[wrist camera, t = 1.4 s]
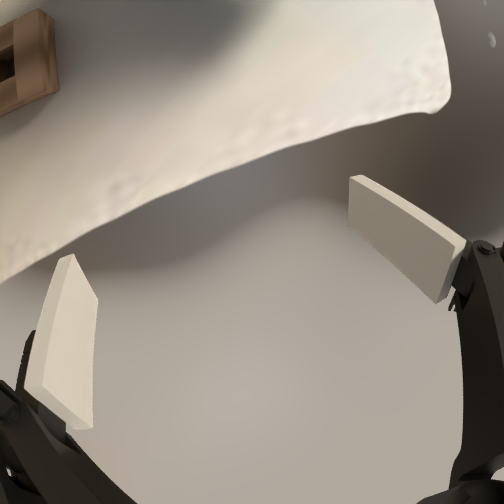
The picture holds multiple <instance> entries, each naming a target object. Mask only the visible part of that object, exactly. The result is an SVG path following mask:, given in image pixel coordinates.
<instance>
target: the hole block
mask: <svg viewBox="0 0 504 504" xmlns="http://www.w3.org/2000/svg"><path fill="white" fill-rule="evenodd" d="M12 59H14V66H15V76H13V77H11V78H9V72H8V62H9V61H10V60H12ZM58 91H59V84H58V75H57V66H56V54H55V37H54V19H52V18H51V17H50V16H48V15H47V14H45V13H44V12H43V11H41V10H40V9H36V10H34V11H32V12H29V13H27V14H25V15H23V16H21V17H19V18H17V19H15V20H13V21H11V22H9V23H7V24H6V25H4V26H2V27H0V117H1V116H3V115H5V114H7V113H9V112H11V111H13V110H15V109H17V108H19V107H22V106H24V105H26V104H28V103H30V102H33V101H35V100H37V99H40V98H42V97H45V96H47V95H50V94H52V93H55V92H58Z"/></svg>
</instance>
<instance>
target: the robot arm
mask: <svg viewBox="0 0 504 504" xmlns="http://www.w3.org/2000/svg"><path fill="white" fill-rule="evenodd" d="M349 185H350V187H349V213H348V226H349V227H350V228H351V229H353V230H354V231H355V232H356V233H357V234H358V235H360V236H361V237H362V238H363V239H364V240H366V241H367V242H368V243H369V244H370V245H371V246H373V247H374V248H375V249H376V250H377V251H379V252H380V253H381V254H382V255H383V256H384V257H385V258H386V259H388V260H389V261H390V262H391V263H392V264H393V265H394V266H395V267H396V268H398V269H399V270H400V271H401V272H402V273H403V274H404V275H405V276H406V277H407V278H408V279H410V280H411V281H412V282H413V283H414V284H415V285H416V286H417V287H418V288H419V289H420V290H421V291H422V292H423V293H424V294H425V295H426V296H428V297H429V298H430V299H431V300H432V301H433V302H434V303H435V304H437V303H438V302H440V301H442V300H443V299H445V298H446V297H447V296H448V293H449V290H450V288H451V285H452V286H453V287H454V288H455V289H456V291H455V293H454V296H453V298H452V300H451V303H450V305H449V309H448V311H451V309H452V307H453V305H454V304H455V309H454V311H455V312H456V313H457V320H458V327H459V336H460V345H461V356H462V371H463V433H462V445H461V450H460V452H459V454H458V456H457V458H456V459H455V461H454V464H453V467H452V471H451V477H450V484H449V490H447V491H444V492H441V493H438V494H436V495H433V496H430V497H427V498H424V499H422V500H421V501H419V502H418V503H417V504H504V481H500V480H492V479H491V477H492V476H493V474H494V473H495V472H496V471H497V470H499V469H501V468H502V467H504V242H503V245H502V247H500V248H496V247H495V246H493V245H492V244H490V243H488V242H486V241H483V240H476V241H474V242H473V243H472V242H470V241H469V240H467V239H466V238H465V237H463V236H462V235H460V234H459V233H458V232H456V231H455V230H453V229H452V228H451V227H448V225H446V224H445V223H443V222H441V221H440V220H438V219H437V218H436V217H434V216H433V215H430V214H428V213H426V212H424V211H423V210H421V209H419V208H418V207H416V206H415V205H413V204H411V203H410V202H408V201H406V200H405V199H403V198H402V197H400V196H398V195H397V194H395V193H393V192H391V191H390V190H388V189H386V188H385V187H383V186H381V185H379V184H378V183H376V182H374V181H372V180H371V179H369V178H367V177H365V176H363V175H358V176H353V177H350V183H349ZM97 308H98V299H97V297H96V296H95V294H94V292H93V290H92V288H91V286H90V285H89V283H88V281H87V279H86V277H85V275H84V274H83V272H82V270H81V268H80V266H79V264H78V262H77V260H76V258H75V256H74V254H71V255H68V256H65V257H63V258H60V259H59V261H58V264H57V267H56V269H55V272H54V274H53V277H52V280H51V283H50V286H49V289H48V292H47V295H46V298H45V301H44V304H43V308H42V311H41V315H40V318H39V322H38V325H37V329H36V330H33V331H32V332H31V334H30V335H29V337H28V339H27V341H26V343H25V347H24V351H23V354H24V355H22V359H21V363H22V364H20V369H19V373H18V378H17V384H16V390H15V391H14V390H13V389H12V388H11V387H10V386H8V385H7V384H6V383H5V382H4V381H3V380H0V504H137V503H136V502H135V501H133V500H132V499H131V498H130V497H129V496H128V495H127V494H125V493H124V492H123V491H122V490H121V489H120V488H119V487H118V486H117V485H116V484H115V483H114V482H113V481H112V480H111V479H110V478H108V476H107V475H106V474H105V473H104V472H103V471H102V470H101V469H100V468H99V467H98V466H97V465H96V464H95V463H94V462H93V461H92V460H91V459H90V458H89V456H88V455H87V454H86V453H85V452H84V451H83V450H82V449H81V447H80V446H79V445H78V444H77V443H76V441H74V439H73V438H72V437H71V436H70V435H69V434H68V433H67V432H66V424H68V425H69V426H70V427H72V428H73V429H75V430H82V429H90V428H93V412H92V410H93V408H92V383H93V355H94V340H95V328H96V317H97ZM6 468H7V469H9V470H10V471H11V476H12V477H11V476H9V475H8V472H7V469H6Z"/></svg>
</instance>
